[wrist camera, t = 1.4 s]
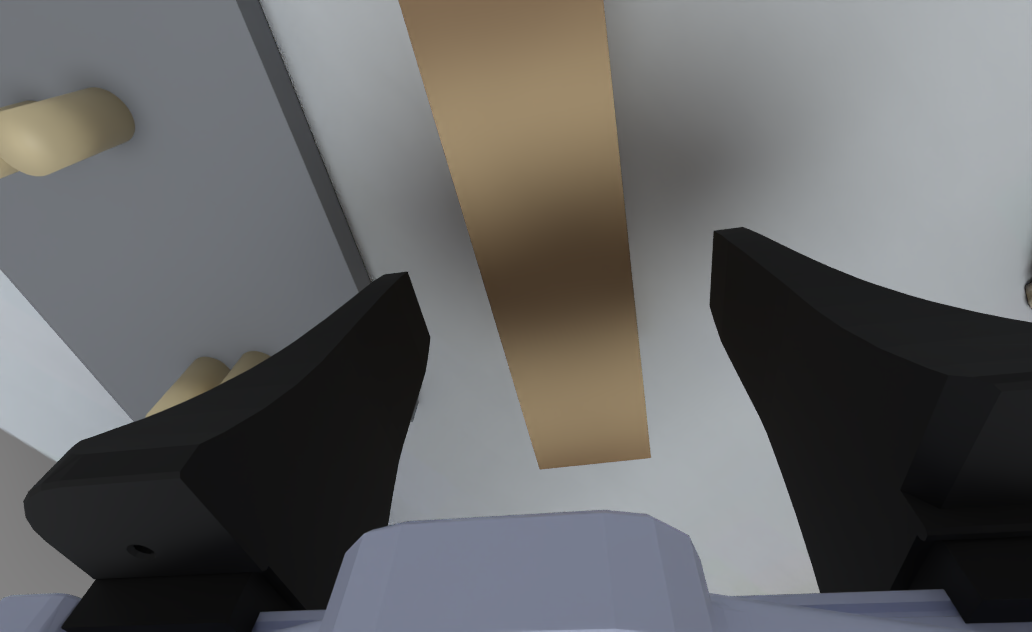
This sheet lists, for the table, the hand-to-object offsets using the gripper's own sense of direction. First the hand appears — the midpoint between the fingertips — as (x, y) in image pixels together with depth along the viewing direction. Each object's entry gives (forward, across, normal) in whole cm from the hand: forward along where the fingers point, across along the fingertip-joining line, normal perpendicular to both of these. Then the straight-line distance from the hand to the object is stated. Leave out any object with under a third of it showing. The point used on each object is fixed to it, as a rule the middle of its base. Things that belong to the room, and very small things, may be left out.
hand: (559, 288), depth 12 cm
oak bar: (+6, 0, 0) cm, 6 cm away
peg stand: (+6, +14, 0) cm, 15 cm away
